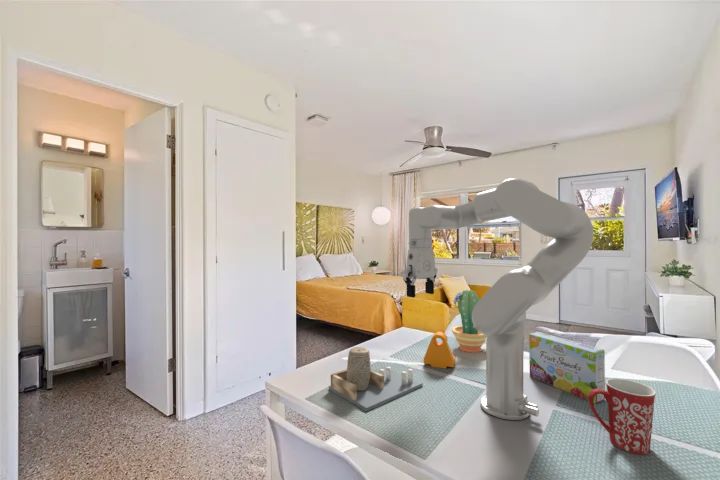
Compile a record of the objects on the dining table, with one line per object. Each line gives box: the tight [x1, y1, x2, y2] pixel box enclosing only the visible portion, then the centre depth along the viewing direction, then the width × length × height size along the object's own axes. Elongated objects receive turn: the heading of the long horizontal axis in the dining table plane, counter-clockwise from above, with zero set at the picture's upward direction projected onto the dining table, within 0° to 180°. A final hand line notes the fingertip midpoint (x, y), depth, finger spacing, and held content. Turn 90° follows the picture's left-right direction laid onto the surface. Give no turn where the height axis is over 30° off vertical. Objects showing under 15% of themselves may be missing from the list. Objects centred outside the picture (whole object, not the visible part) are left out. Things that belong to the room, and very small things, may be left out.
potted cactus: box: [451, 289, 487, 353], centre depth 144 cm, size 15×15×25 cm
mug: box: [587, 377, 657, 455], centre depth 78 cm, size 13×9×14 cm
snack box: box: [528, 331, 606, 404], centre depth 106 cm, size 21×6×15 cm, turn 27°
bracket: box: [423, 331, 456, 369], centre depth 127 cm, size 11×7×12 cm, turn 68°
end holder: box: [330, 368, 384, 400], centre depth 105 cm, size 12×12×4 cm
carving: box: [346, 346, 372, 391], centre depth 105 cm, size 6×8×12 cm
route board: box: [328, 366, 424, 412], centre depth 107 cm, size 18×24×5 cm
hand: (420, 295), depth 113 cm, fingers open, 9 cm apart
